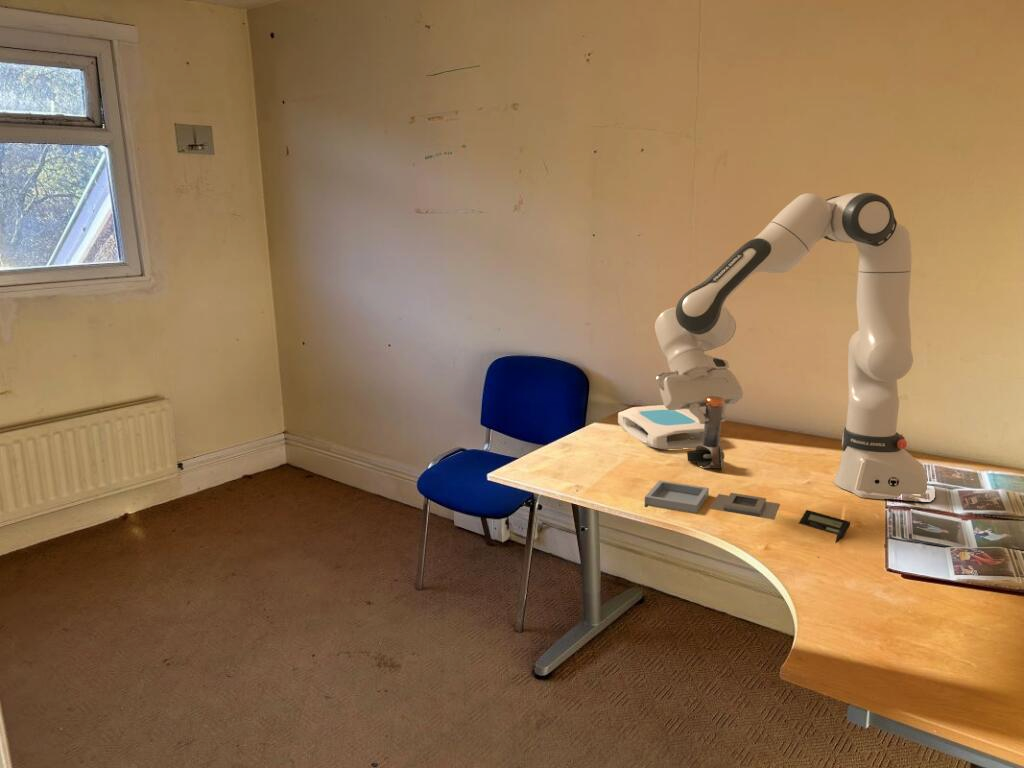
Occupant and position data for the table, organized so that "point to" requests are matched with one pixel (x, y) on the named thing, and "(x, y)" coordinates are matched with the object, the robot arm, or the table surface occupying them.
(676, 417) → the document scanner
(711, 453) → the caster wheel
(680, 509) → the tray
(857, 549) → the table surface
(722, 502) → the collar plate
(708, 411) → the pin
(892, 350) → the robot arm
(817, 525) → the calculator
